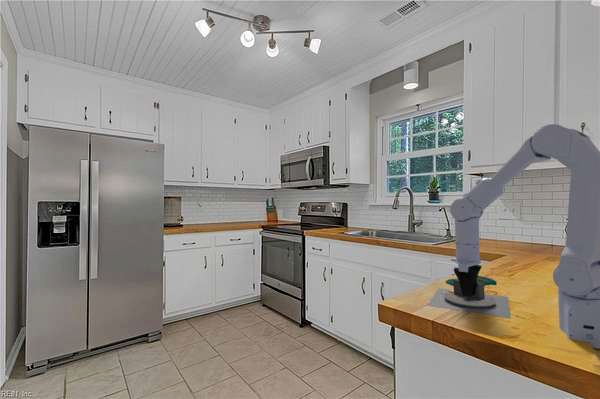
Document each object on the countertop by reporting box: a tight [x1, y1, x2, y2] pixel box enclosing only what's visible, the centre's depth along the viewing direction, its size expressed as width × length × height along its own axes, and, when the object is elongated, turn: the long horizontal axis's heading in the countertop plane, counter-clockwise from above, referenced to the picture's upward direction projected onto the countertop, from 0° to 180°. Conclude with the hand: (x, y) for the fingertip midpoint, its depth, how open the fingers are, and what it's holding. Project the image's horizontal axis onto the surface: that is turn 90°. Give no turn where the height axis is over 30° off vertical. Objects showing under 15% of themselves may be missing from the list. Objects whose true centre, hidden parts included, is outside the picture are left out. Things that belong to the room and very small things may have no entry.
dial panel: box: [427, 287, 512, 320], centre depth 82 cm, size 18×18×1 cm
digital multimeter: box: [445, 275, 497, 287], centre depth 99 cm, size 7×15×3 cm, turn 108°
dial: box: [444, 278, 495, 308], centre depth 82 cm, size 12×12×5 cm
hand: (468, 293), depth 82 cm, fingers closed on dial, 4 cm apart
